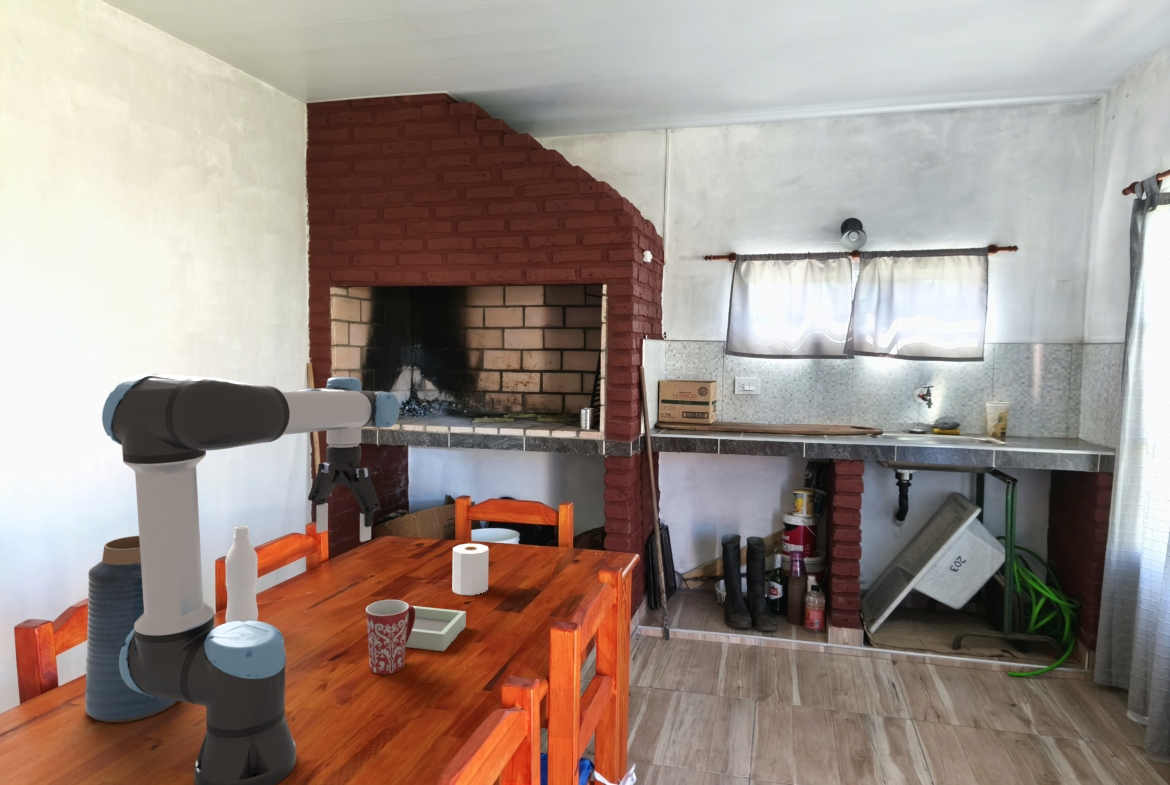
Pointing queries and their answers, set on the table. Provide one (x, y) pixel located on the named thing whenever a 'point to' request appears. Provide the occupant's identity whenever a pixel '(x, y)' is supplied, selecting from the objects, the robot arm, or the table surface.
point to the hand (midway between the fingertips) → (343, 536)
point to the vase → (115, 634)
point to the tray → (435, 628)
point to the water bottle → (241, 578)
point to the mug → (388, 634)
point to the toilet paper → (470, 569)
